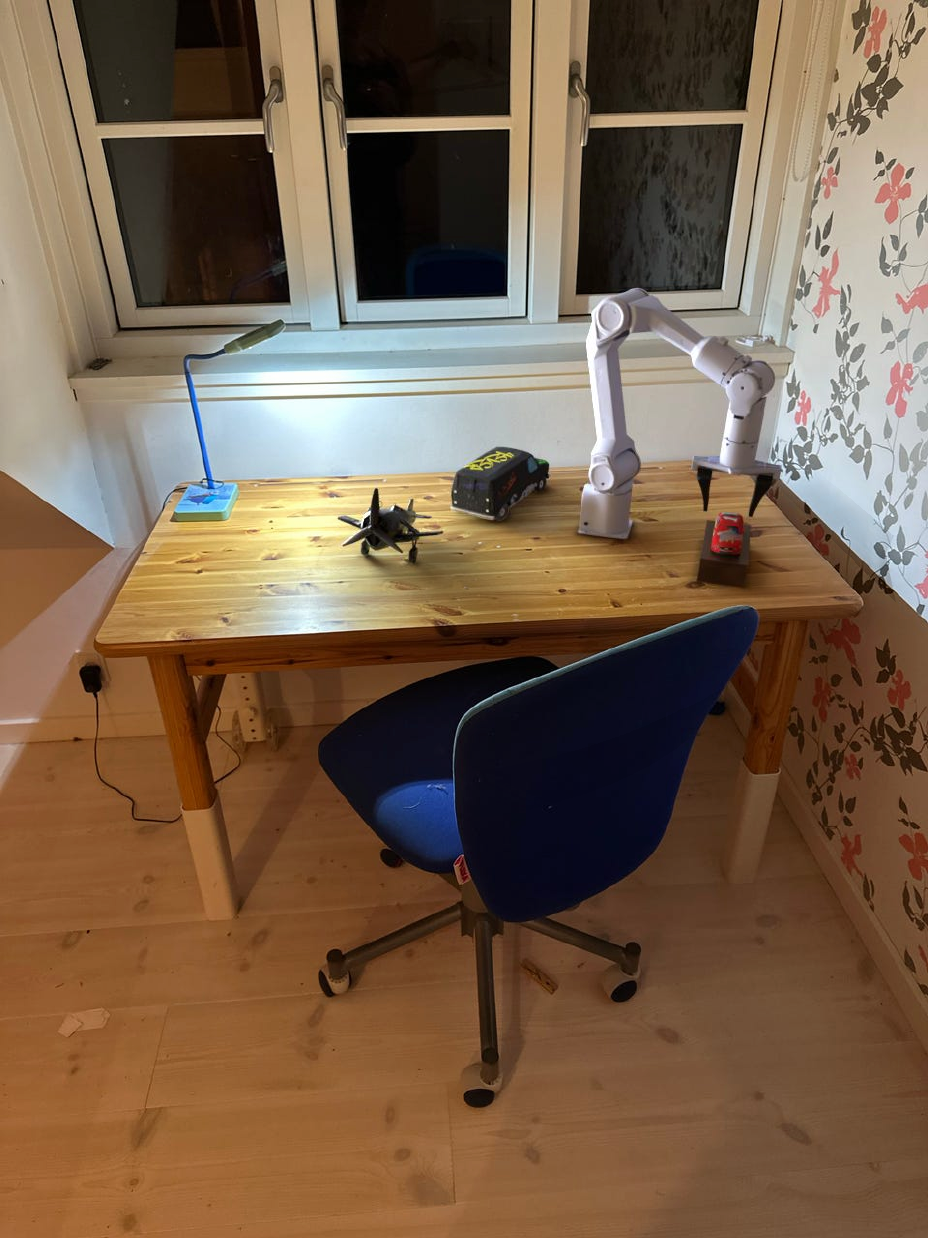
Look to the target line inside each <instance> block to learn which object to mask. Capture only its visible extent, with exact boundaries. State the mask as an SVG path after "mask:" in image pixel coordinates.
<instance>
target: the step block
mask: <svg viewBox="0 0 928 1238" xmlns="http://www.w3.org/2000/svg"><path fill="white" fill-rule="evenodd" d="M714 527H715V520H711V519H710V520H709V519H707V520H706V523H705V527H704V535H703V540H702V545H701V551H700V556H699V561H698V568H697V574H696V582H700V583H707V584H716V585H723V586H730V587H736V588H744V587H745V584H746V578H747V573H748V569H749V568H748V567H749V558H750V546H751V534H752V532H751V531H752V525H750V524H744V529H743V531H745V533H743V540H742V548H741V553H740V554H736V555H725V554H720V553H717V552H714V551H711V546H712V545H711V544H712V538H713V532H714V529H713V528H714Z"/></svg>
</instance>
